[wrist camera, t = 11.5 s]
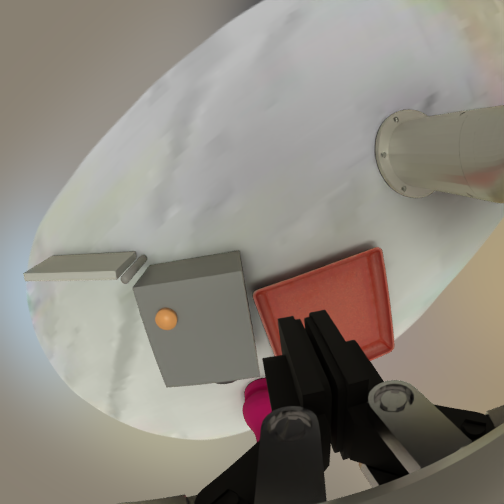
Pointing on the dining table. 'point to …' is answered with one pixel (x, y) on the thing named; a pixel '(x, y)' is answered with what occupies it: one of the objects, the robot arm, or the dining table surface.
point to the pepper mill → (256, 405)
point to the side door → (87, 267)
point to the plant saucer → (335, 301)
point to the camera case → (198, 320)
